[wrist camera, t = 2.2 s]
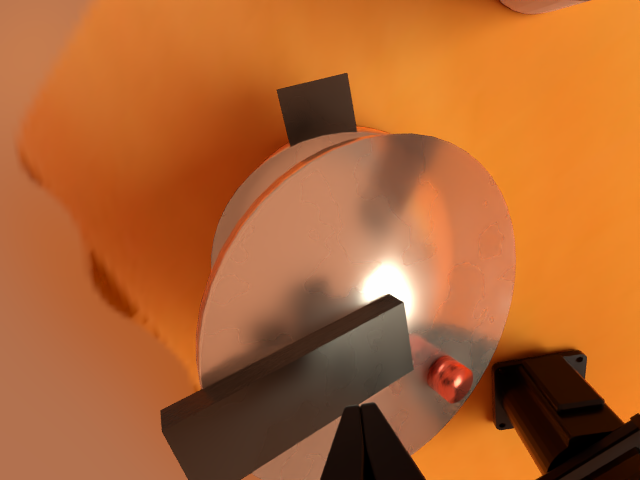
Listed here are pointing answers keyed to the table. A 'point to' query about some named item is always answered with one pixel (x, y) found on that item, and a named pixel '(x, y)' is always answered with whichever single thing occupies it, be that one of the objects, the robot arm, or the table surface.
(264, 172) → the pot
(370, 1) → the table surface
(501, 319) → the lid
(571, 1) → the coffee cup
